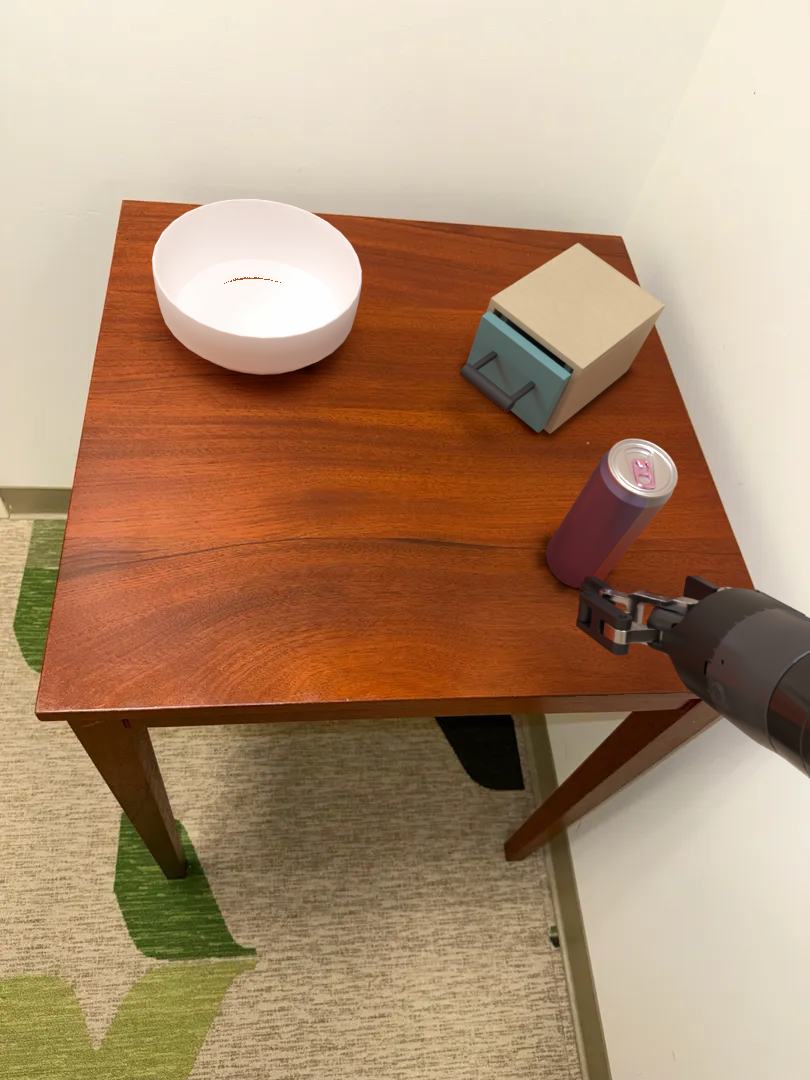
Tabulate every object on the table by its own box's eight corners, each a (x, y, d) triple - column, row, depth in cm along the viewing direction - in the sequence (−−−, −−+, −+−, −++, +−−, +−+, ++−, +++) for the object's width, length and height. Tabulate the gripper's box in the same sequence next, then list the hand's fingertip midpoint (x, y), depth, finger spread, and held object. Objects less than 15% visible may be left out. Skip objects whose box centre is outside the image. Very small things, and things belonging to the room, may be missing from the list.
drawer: (509, 456, 75) (533, 403, 69) (433, 392, 78) (449, 336, 72) (612, 373, 84) (642, 319, 77) (540, 318, 87) (564, 262, 80)
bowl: (185, 252, 84) (179, 182, 77) (362, 284, 86) (371, 219, 79) (139, 383, 74) (126, 316, 67) (341, 416, 76) (350, 355, 68)
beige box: (549, 434, 79) (583, 368, 71) (467, 367, 82) (490, 297, 74) (627, 371, 86) (665, 305, 78) (549, 311, 89) (578, 242, 81)
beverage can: (548, 589, 69) (613, 496, 56) (540, 533, 72) (600, 433, 60) (610, 593, 70) (688, 501, 57) (599, 537, 73) (671, 439, 61)
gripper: (889, 608, 45) (727, 541, 60) (666, 611, 42) (556, 540, 58) (865, 725, 47) (713, 631, 62) (649, 736, 44) (547, 634, 59)
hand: (638, 587), depth 60 cm, fingers open, 8 cm apart
